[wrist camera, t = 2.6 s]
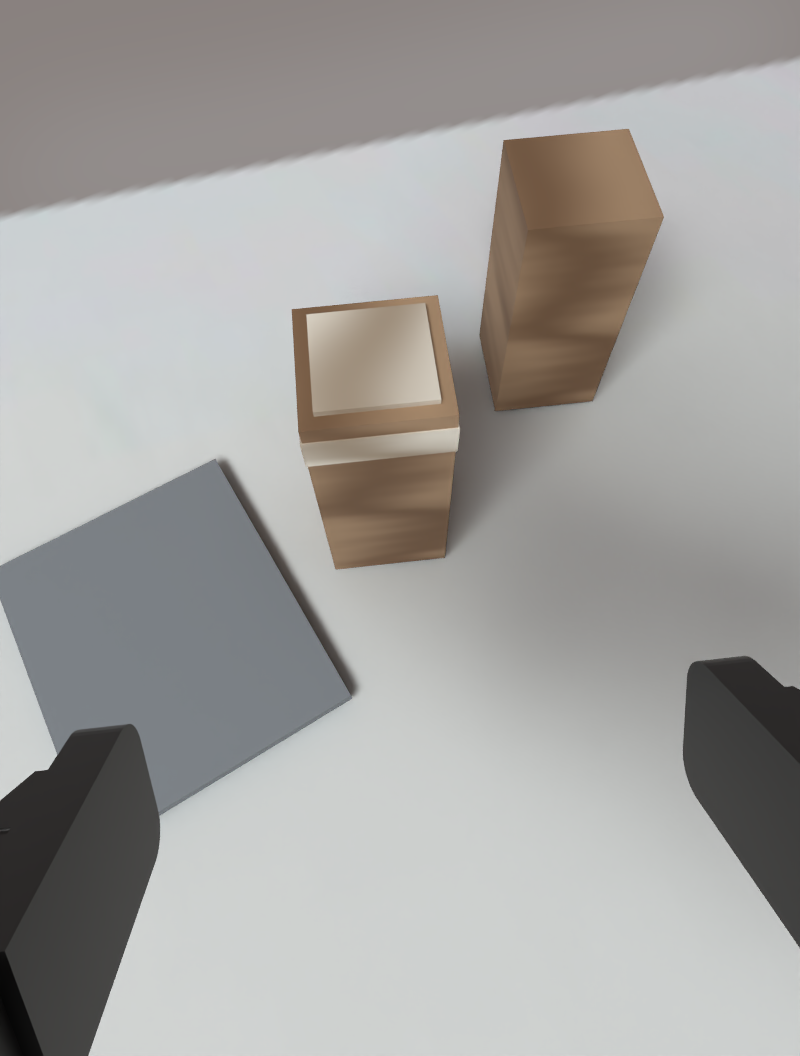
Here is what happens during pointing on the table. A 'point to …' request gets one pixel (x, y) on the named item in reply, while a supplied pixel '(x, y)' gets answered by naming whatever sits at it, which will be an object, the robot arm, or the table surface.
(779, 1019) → the table surface
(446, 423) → the label box
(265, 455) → the table surface
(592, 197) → the plain box
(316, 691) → the slate mat
